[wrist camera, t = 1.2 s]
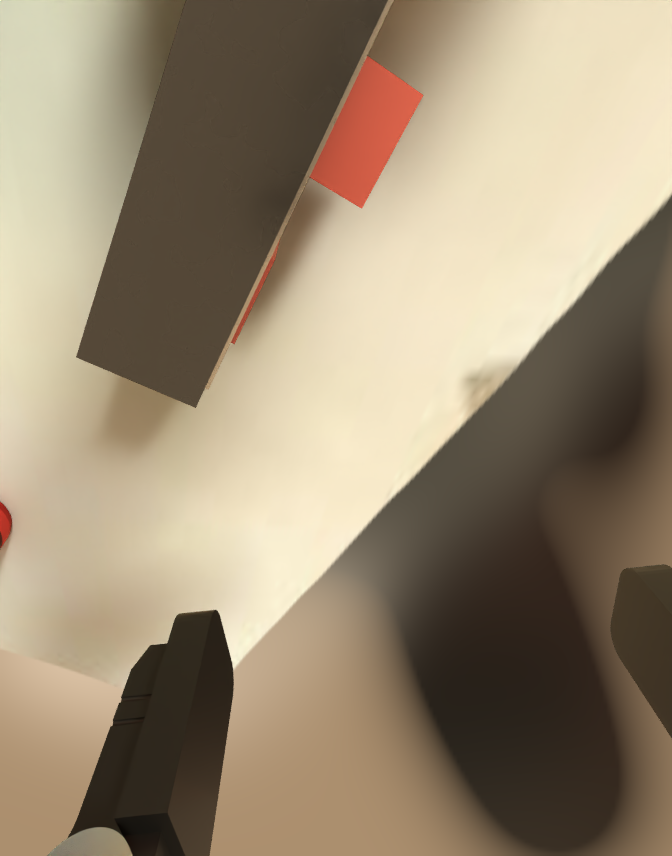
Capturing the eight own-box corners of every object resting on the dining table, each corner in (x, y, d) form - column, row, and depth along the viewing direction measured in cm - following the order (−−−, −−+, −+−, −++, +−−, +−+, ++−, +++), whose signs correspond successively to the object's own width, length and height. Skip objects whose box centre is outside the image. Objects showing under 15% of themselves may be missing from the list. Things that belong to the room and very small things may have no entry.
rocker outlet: (316, 31, 24) (316, 20, 20) (406, 93, 25) (423, 95, 21) (271, 139, 26) (262, 148, 22) (355, 190, 28) (361, 208, 24)
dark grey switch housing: (276, -67, 27) (243, -187, 15) (377, 7, 29) (417, -49, 17) (154, 270, 36) (76, 357, 25) (236, 310, 38) (199, 409, 26)
